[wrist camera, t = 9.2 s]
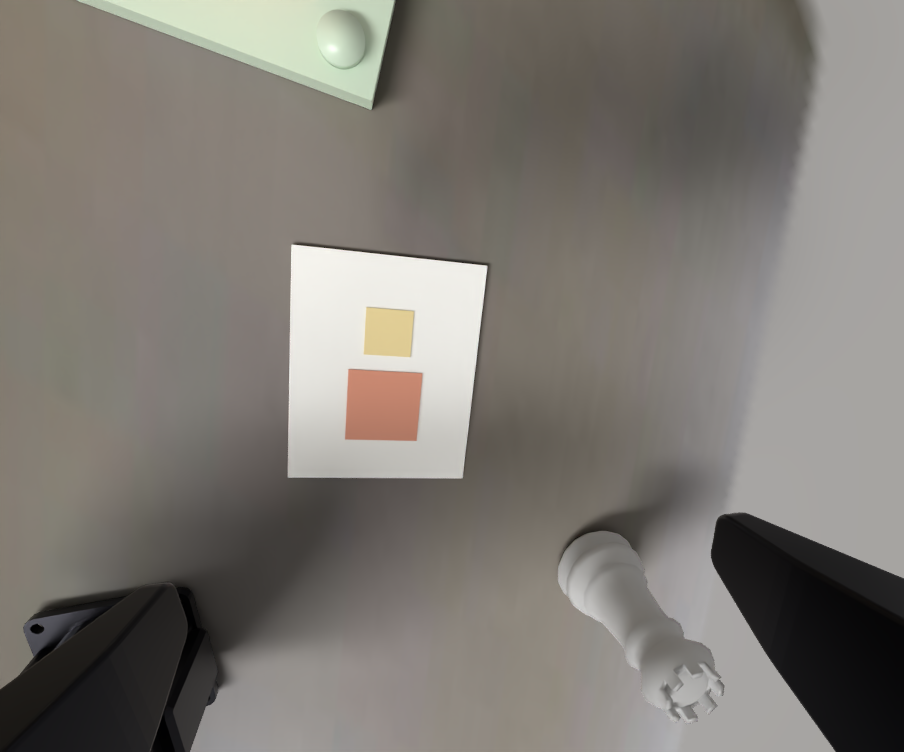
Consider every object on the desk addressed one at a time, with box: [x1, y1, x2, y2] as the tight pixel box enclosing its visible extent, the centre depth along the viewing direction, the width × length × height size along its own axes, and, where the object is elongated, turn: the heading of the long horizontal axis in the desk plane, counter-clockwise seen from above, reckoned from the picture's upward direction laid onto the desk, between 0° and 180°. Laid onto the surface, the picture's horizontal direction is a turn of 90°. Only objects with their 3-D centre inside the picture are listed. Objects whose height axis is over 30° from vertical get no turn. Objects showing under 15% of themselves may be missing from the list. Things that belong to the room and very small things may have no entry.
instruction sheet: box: [288, 245, 487, 478], centre depth 19 cm, size 10×8×1 cm
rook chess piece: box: [558, 531, 724, 724], centre depth 21 cm, size 4×4×8 cm
